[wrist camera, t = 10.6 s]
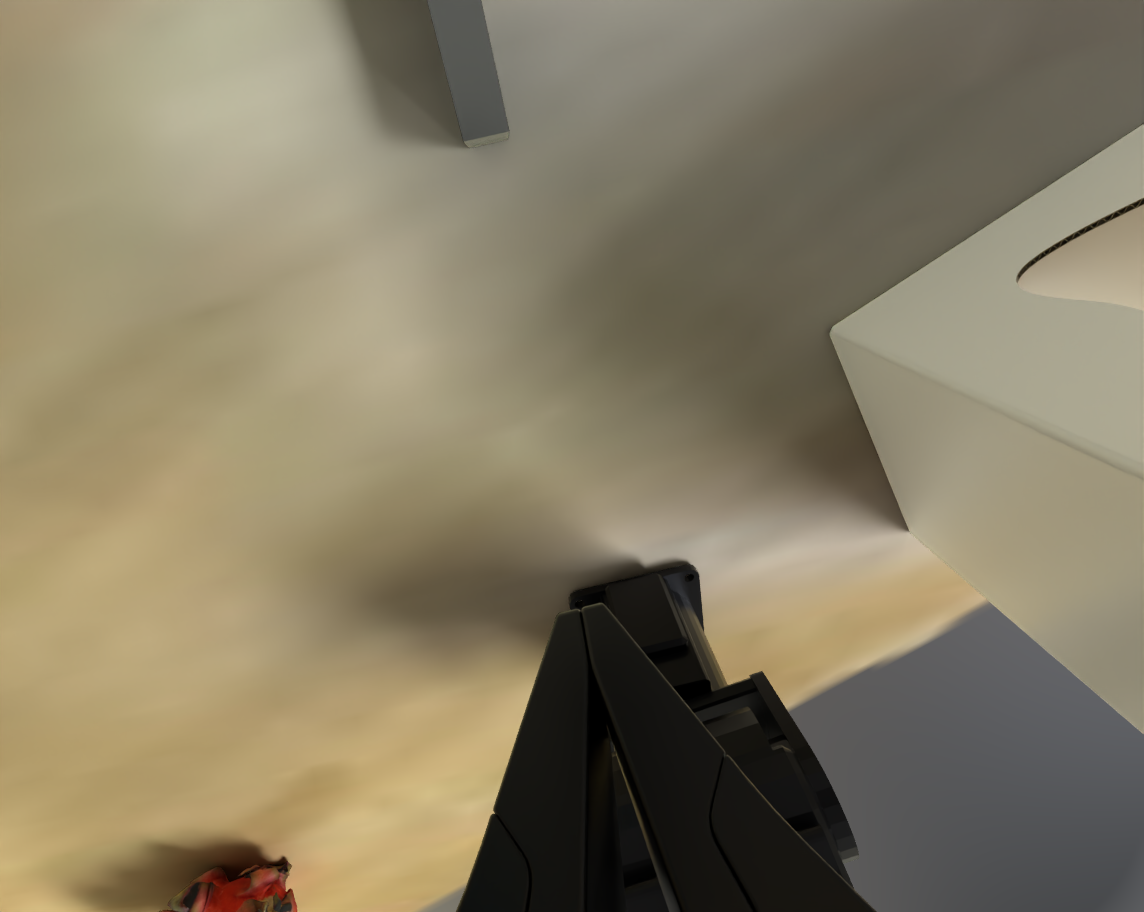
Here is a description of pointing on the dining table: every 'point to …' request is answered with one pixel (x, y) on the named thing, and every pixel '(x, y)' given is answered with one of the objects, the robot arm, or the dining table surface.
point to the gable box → (1027, 414)
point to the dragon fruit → (237, 892)
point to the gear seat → (470, 70)
